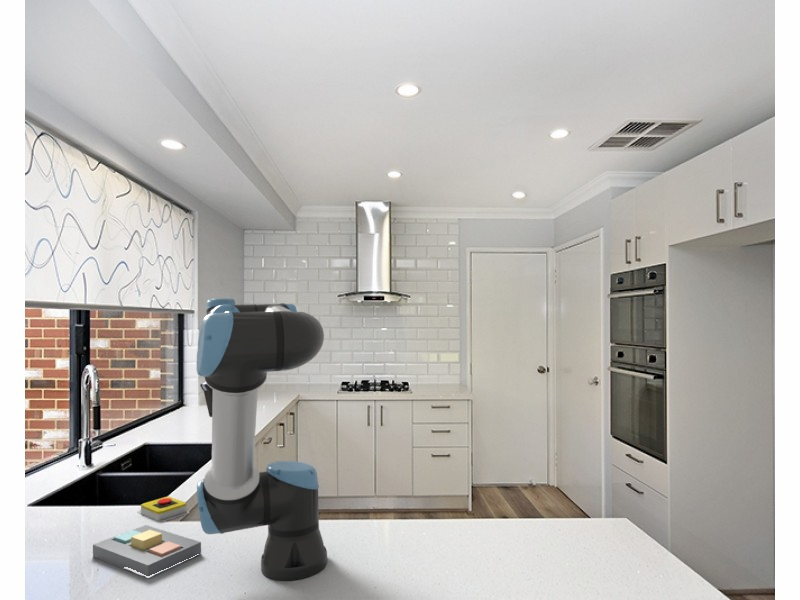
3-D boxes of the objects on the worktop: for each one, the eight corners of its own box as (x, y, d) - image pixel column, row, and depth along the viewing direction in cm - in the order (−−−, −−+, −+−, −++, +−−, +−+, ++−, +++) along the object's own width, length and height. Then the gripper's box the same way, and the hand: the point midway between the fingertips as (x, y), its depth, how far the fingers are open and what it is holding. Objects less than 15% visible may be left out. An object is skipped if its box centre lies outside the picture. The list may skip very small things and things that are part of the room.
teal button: (144, 545, 137) (144, 533, 137) (125, 553, 133) (125, 540, 133) (133, 541, 140) (133, 529, 140) (114, 548, 135) (114, 536, 135)
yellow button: (162, 545, 133) (162, 533, 133) (143, 553, 129) (143, 540, 129) (150, 541, 136) (150, 529, 136) (131, 549, 131) (131, 536, 132)
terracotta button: (181, 558, 129) (180, 545, 129) (162, 566, 125) (162, 553, 125) (168, 553, 132) (168, 541, 132) (149, 562, 127) (149, 549, 127)
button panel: (201, 554, 132) (200, 542, 132) (148, 578, 120) (147, 565, 120) (145, 536, 144) (145, 525, 144) (92, 556, 132) (92, 544, 132)
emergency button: (160, 509, 154) (135, 499, 163) (160, 524, 154) (136, 513, 163) (190, 499, 161) (165, 490, 171) (190, 514, 161) (165, 504, 170)
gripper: (232, 353, 154) (233, 435, 153) (192, 356, 143) (194, 445, 142) (250, 353, 150) (251, 438, 149) (211, 357, 139) (213, 448, 138)
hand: (223, 441), depth 146 cm, fingers closed
